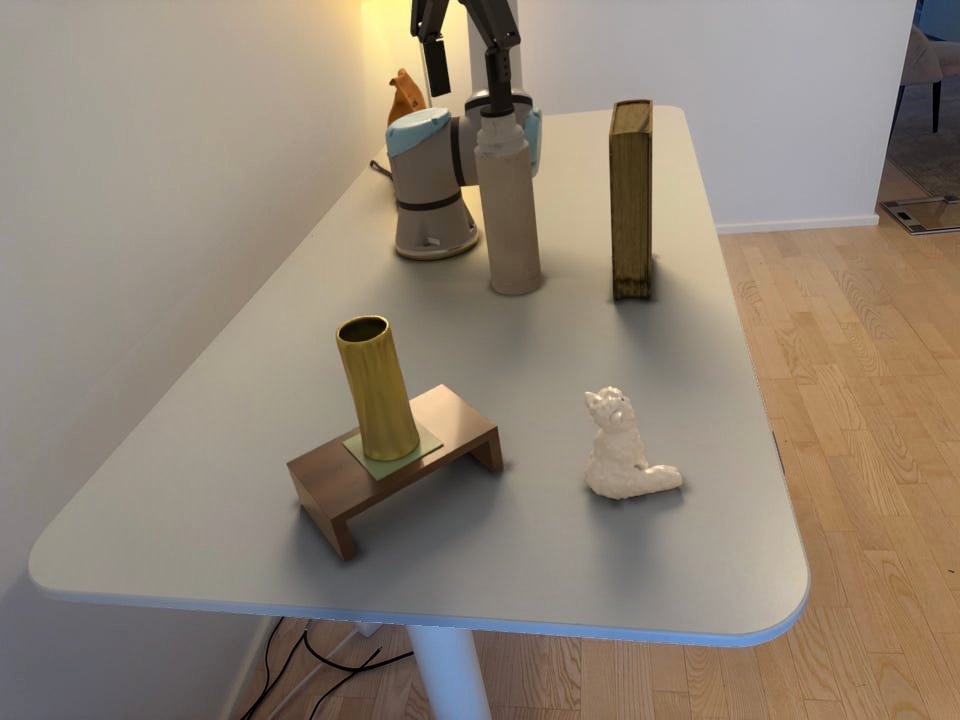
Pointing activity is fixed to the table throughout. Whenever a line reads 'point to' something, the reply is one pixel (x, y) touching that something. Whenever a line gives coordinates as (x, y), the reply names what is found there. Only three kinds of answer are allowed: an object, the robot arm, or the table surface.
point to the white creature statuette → (621, 451)
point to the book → (631, 197)
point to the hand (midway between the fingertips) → (470, 102)
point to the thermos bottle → (507, 202)
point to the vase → (377, 388)
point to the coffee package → (405, 97)
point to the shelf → (389, 463)
